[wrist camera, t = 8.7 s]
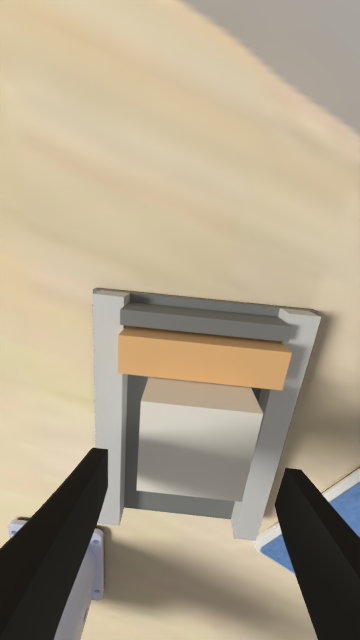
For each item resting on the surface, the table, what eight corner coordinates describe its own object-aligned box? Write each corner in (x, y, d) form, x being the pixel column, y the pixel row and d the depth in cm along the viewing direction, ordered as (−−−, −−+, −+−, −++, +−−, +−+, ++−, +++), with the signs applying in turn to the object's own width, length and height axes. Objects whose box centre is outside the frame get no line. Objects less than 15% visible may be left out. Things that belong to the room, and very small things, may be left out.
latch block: (264, 365, 13) (282, 390, 11) (130, 351, 13) (117, 373, 11) (272, 333, 12) (292, 352, 10) (131, 319, 12) (118, 335, 10)
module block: (226, 428, 15) (241, 502, 10) (151, 421, 15) (136, 490, 10) (238, 361, 13) (263, 414, 9) (156, 353, 13) (140, 401, 9)
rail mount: (255, 513, 18) (265, 552, 15) (100, 496, 18) (87, 532, 15) (312, 309, 13) (339, 321, 10) (97, 287, 13) (77, 294, 10)
